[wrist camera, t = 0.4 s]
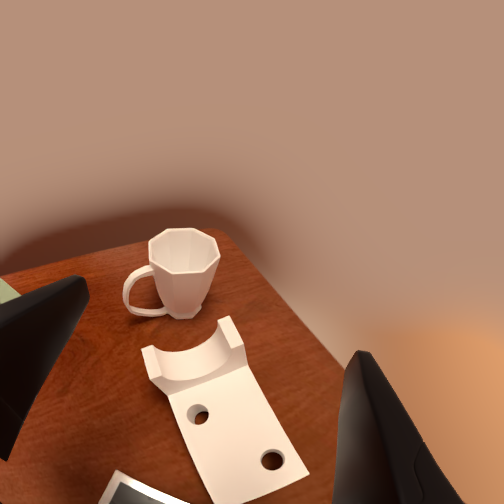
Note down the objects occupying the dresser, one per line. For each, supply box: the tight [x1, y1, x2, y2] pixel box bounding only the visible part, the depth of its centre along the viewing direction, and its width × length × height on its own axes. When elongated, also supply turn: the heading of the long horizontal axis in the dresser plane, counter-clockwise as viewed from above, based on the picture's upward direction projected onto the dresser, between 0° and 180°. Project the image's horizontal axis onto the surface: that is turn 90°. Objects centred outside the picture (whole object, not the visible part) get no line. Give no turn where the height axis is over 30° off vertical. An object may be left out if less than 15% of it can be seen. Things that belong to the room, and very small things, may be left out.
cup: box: [123, 228, 220, 320], centre depth 28 cm, size 7×10×8 cm
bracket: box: [141, 316, 309, 504], centre depth 18 cm, size 13×7×8 cm, turn 25°
